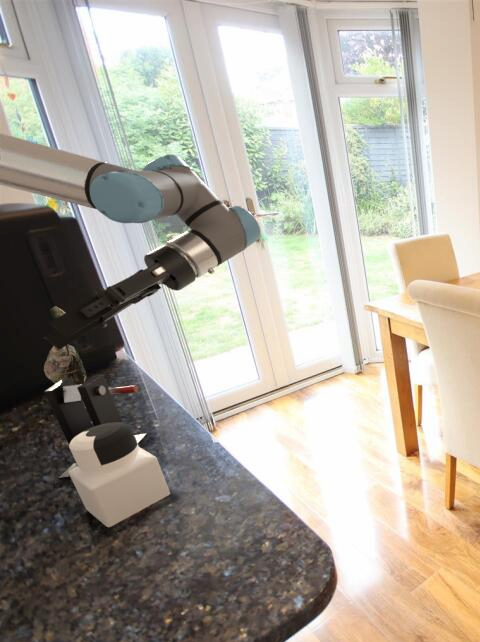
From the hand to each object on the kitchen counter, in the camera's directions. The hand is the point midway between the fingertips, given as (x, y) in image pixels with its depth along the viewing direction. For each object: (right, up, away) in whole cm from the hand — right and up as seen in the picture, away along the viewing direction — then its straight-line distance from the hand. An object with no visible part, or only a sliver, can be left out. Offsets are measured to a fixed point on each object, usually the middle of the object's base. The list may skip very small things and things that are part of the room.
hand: (54, 337), depth 69 cm
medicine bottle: (+18, -23, -7) cm, 30 cm away
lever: (+5, -10, +2) cm, 11 cm away
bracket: (+6, -19, +3) cm, 20 cm away
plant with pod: (-15, -13, +20) cm, 28 cm away
